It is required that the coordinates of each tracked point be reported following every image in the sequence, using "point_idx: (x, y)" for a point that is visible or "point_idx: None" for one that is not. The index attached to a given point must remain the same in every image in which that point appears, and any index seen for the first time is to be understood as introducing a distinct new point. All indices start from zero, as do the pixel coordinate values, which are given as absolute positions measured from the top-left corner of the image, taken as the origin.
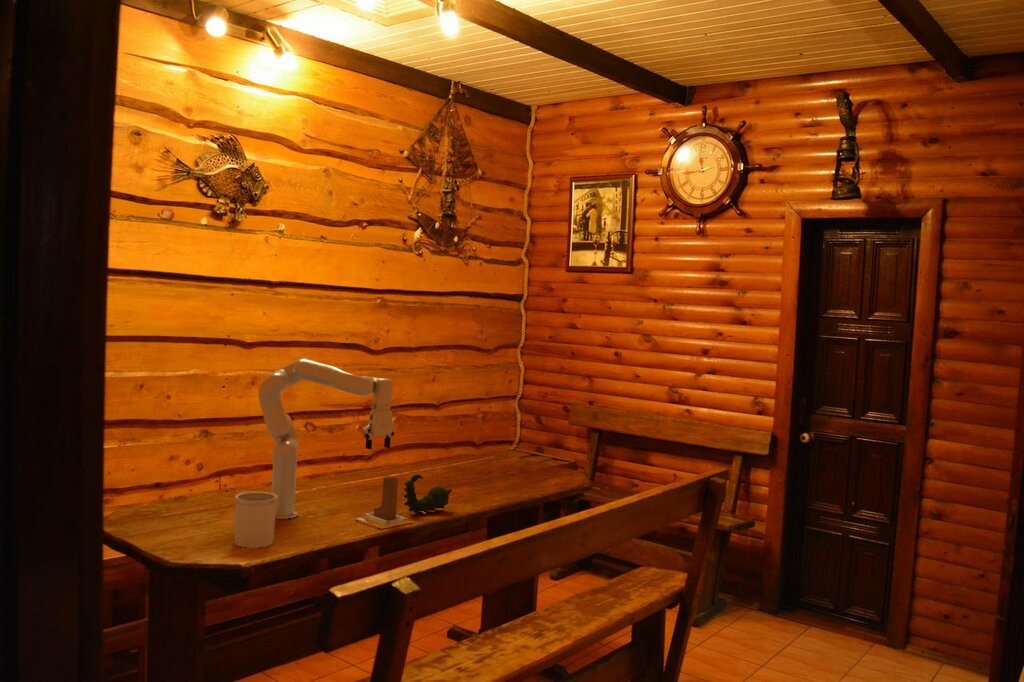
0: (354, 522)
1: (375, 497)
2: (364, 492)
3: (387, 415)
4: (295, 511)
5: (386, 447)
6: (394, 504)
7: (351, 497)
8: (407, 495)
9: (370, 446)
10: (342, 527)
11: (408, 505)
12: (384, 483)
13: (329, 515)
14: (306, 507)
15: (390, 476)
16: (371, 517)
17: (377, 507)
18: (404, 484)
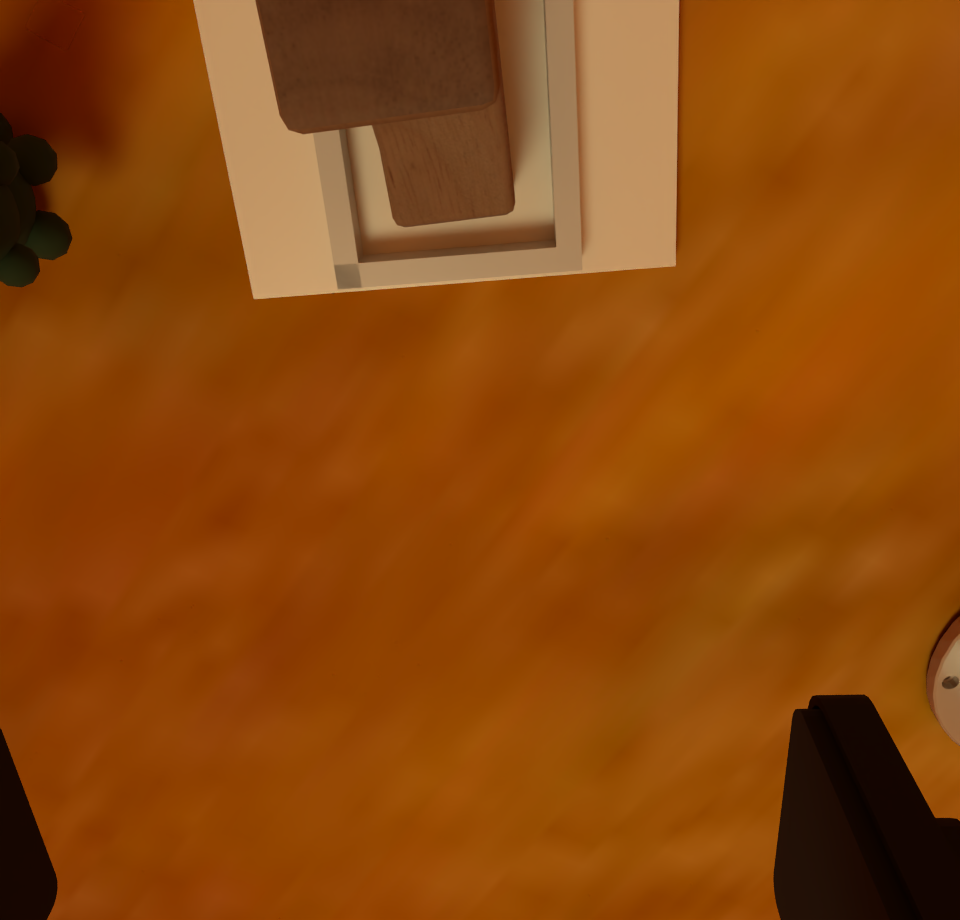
0: (712, 219)
1: (88, 775)
2: (103, 898)
3: None
4: (946, 667)
5: (15, 799)
6: None
7: (263, 838)
8: (2, 214)
9: (908, 772)
10: (936, 115)
11: (53, 160)
12: (497, 52)
13: (738, 517)
14: (726, 763)
15: (316, 109)
16: (576, 143)
17: (500, 164)
18: None
